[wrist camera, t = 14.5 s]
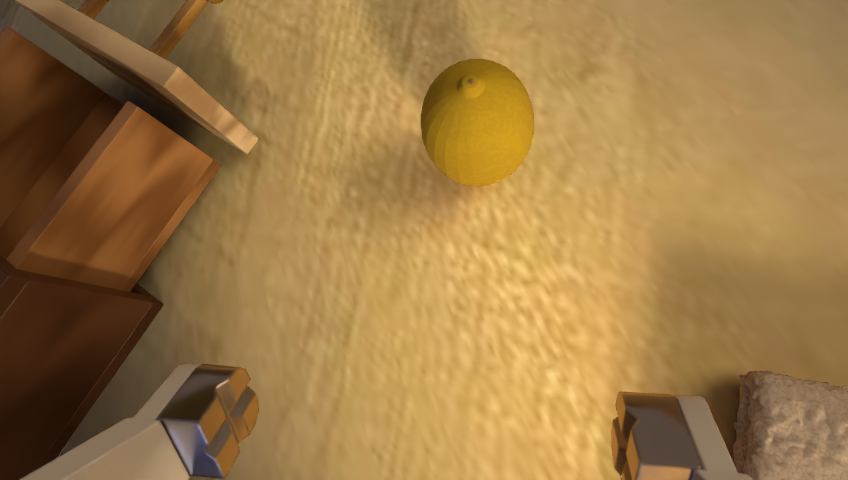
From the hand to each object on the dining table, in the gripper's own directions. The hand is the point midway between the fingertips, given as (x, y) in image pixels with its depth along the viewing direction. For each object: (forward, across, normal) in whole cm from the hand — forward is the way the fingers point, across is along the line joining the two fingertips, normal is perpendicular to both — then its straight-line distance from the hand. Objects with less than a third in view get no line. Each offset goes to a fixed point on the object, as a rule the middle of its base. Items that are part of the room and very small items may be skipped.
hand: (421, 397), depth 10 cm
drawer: (+19, +21, +1) cm, 28 cm away
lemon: (+19, 0, +2) cm, 19 cm away
